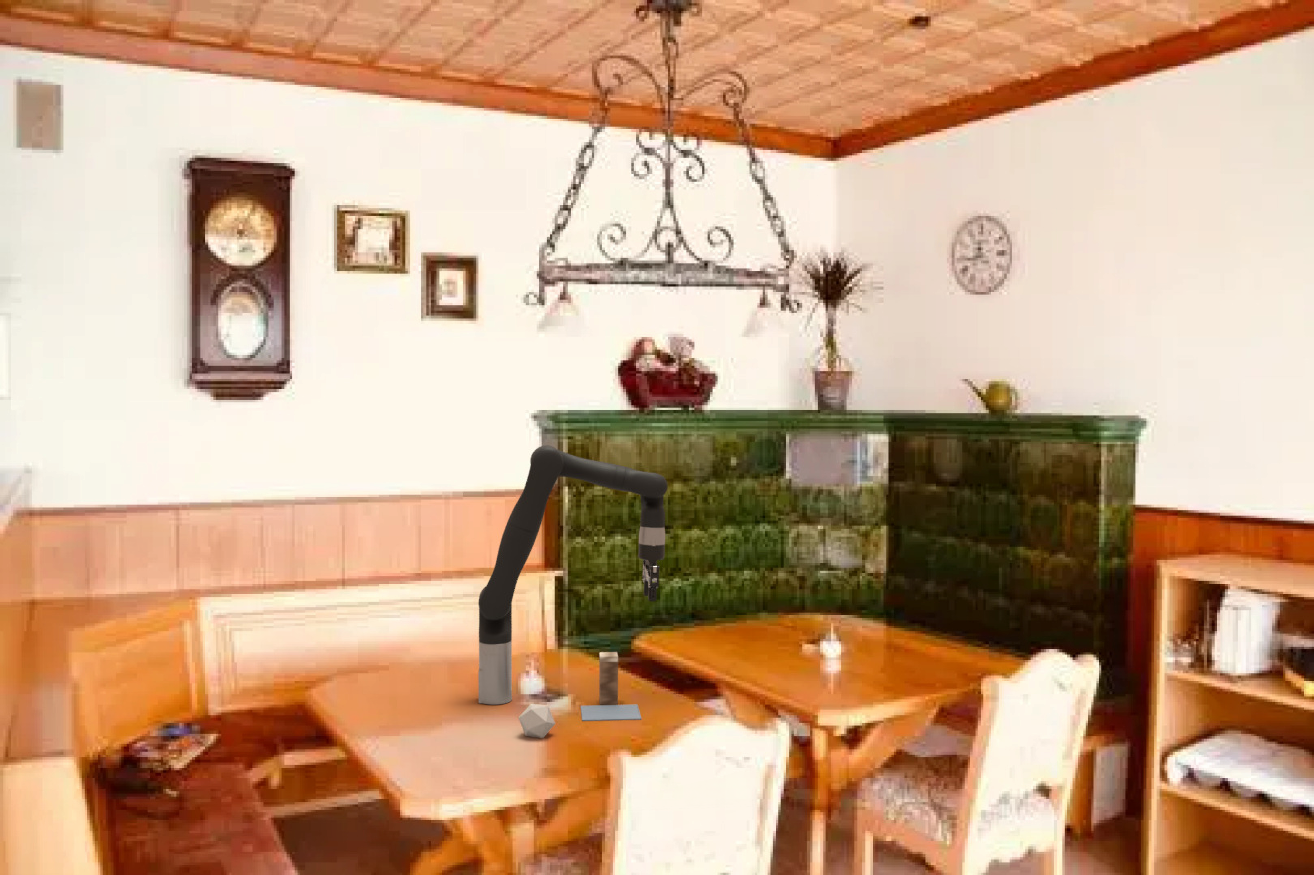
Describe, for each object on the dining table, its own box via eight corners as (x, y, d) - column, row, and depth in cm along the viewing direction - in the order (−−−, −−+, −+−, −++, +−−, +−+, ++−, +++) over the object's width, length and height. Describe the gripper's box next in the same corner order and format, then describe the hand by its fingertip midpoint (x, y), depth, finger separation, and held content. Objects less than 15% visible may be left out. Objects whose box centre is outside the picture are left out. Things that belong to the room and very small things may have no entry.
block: (600, 705, 320) (600, 656, 319) (599, 700, 325) (599, 652, 324) (617, 705, 320) (618, 656, 320) (616, 700, 325) (616, 652, 325)
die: (560, 735, 296) (548, 701, 300) (555, 728, 288) (543, 693, 292) (530, 747, 295) (519, 713, 299) (524, 741, 287) (513, 705, 292)
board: (582, 721, 306) (582, 719, 306) (580, 706, 319) (580, 705, 319) (641, 719, 308) (641, 718, 308) (637, 705, 320) (637, 704, 320)
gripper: (635, 539, 334) (633, 594, 334) (642, 545, 320) (640, 602, 320) (660, 539, 335) (658, 594, 336) (669, 545, 321) (667, 602, 322)
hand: (649, 598), depth 328 cm, fingers open, 8 cm apart
